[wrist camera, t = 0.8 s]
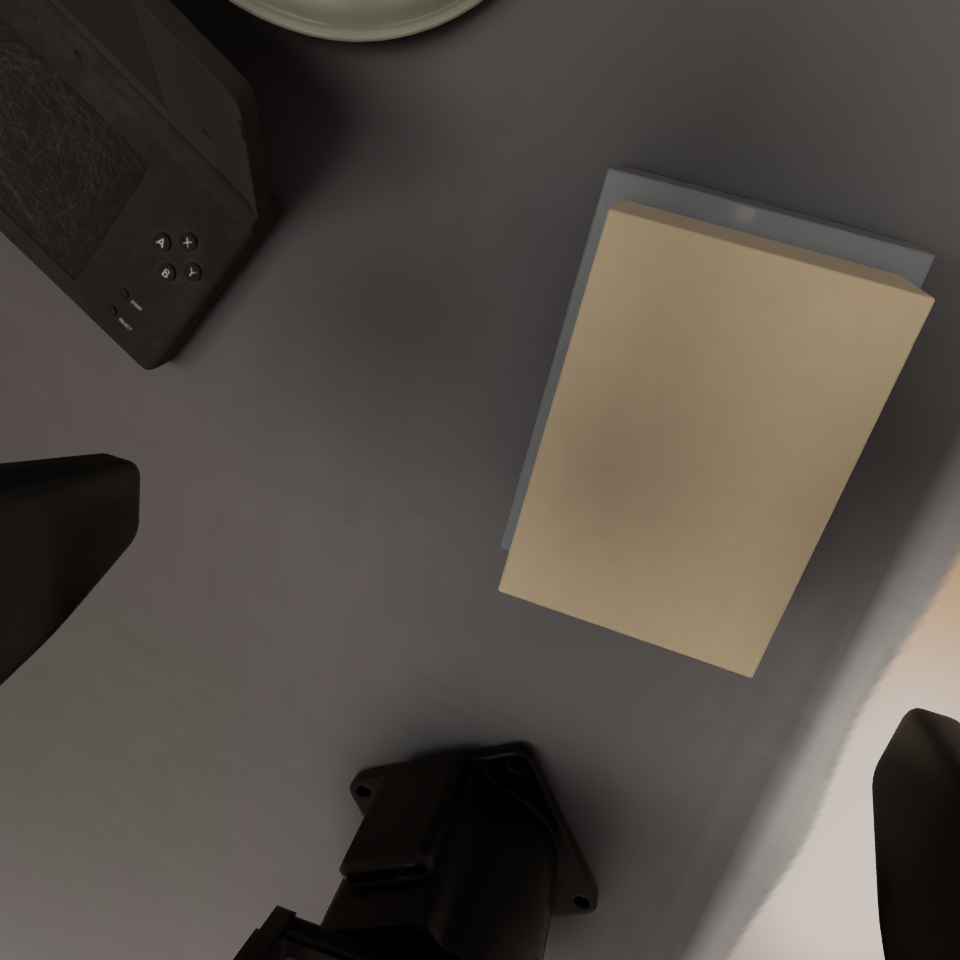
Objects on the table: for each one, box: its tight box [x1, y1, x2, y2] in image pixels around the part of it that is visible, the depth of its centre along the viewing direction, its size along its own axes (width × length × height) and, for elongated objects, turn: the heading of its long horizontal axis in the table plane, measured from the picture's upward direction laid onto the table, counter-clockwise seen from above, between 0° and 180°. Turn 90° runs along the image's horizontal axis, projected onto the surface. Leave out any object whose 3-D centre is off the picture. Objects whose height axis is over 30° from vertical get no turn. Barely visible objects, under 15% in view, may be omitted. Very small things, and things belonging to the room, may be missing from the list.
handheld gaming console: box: [0, 0, 284, 370], centre depth 18 cm, size 12×7×10 cm
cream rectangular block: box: [498, 200, 935, 677], centre depth 16 cm, size 8×6×3 cm
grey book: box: [500, 165, 935, 551], centre depth 18 cm, size 9×6×2 cm
